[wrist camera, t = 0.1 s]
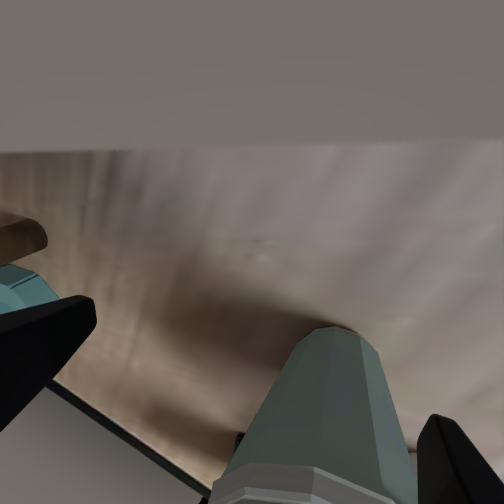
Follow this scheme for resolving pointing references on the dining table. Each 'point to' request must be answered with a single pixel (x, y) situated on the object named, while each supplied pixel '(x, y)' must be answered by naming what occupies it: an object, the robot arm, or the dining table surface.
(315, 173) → the dining table surface
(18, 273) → the bead
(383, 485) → the disposable coffee cup
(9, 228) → the brown post
